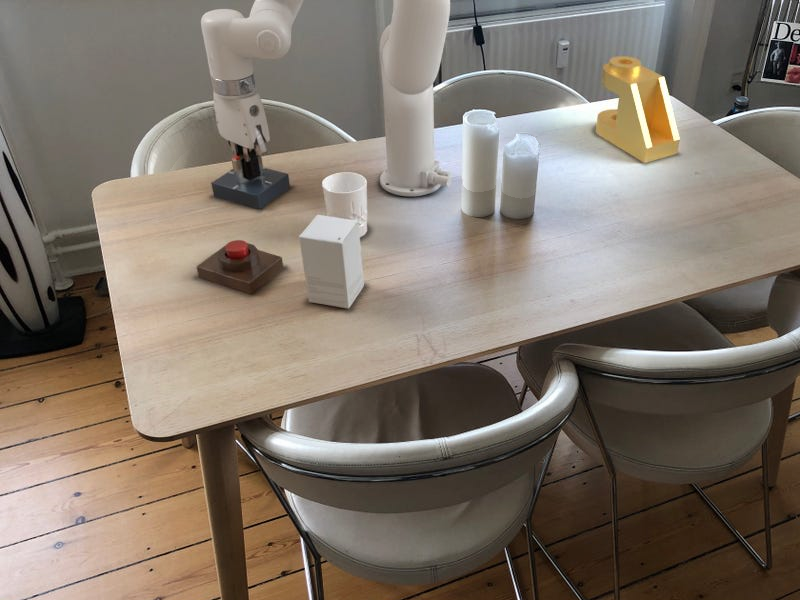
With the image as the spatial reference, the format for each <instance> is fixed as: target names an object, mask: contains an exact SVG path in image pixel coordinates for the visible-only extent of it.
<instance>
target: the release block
mask: <svg viewBox="0 0 800 600" xmlns="http://www.w3.org/2000/svg"><path fill="white" fill-rule="evenodd" d="M246 243H247V245H248V250H249V255H248V256H247V257H245V258H242V259H230V258H228V257H227V253H226V248H225V246H226V244H225V245H224V246H222V247H221V248H219V249H218V250H217V251H215V252H213V254H212V255H210V256H209V257H207V258H206V259H205V260H203V261H201V262H200V263H199V264H198V265H196V270H197V275H198V278H201V279H204V280H207V281H210V282H213V283H215V284H219V285H222V286H225V287H228V288H231V289H235V290H237V291H241V292H244V293H247V294H250V295H252V294H253V293H255V292H256V291H257V290H258V289H259V288H260V287H262V286H263V285H264V284H265V283H267V282H268V281H269V280H271V278H273V277H274V276H275V275H276V274H278V273H279V272H280V271H281V270H282V269H283V268H284V263H283V257H282V256H280V255H276V254H273V253H269V252H267V251H263V250H260V249H258V248H257V247H256V245H254V244H252V243H248V242H246Z"/></svg>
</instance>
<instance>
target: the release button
mask: <svg viewBox="0 0 800 600" xmlns="http://www.w3.org/2000/svg"><path fill="white" fill-rule="evenodd" d="M247 243H248V242H246V241H245V240H242V239H235V240H231V241H229V242H227V243H226V244H225V245H226V246H225V245H224V246H225V248H226V253H227V257H228V258H230V259H242V258H245V257H247V256H248V255H249V250H248V245H247Z"/></svg>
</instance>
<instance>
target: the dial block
mask: <svg viewBox="0 0 800 600" xmlns="http://www.w3.org/2000/svg"><path fill="white" fill-rule="evenodd" d="M263 169H264V174H262V175H260V176H258V177H255V178H253V179H251V180H249V181H247V182H244V183H242V184H238V183H236V182H235V176H234V171H233V168H231V170H229V171H228V172H226V173H224V174H223V175H221V176H219V177H218V178H216V179H215V180H213V181H211V183H210V184H211V189H212V193H213V197H214V198H218V199H221V200H225V201H228V202H233V203H236V204H239V205H242V206H246V207H251V208H254V209H256V210H261V209H262V208H264V207H265V206H266V205H268V204H269V203H270V202H272V201H273V200H275V199H277V197H279V196H280V195H282V194H283V193H284V192H286V191H287V190H289V189H290V188H291V183H290V177H289V173H286V172H282V171H280V170H275V169H272V168H267V166H263Z"/></svg>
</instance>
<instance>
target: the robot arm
mask: <svg viewBox="0 0 800 600" xmlns="http://www.w3.org/2000/svg"><path fill="white" fill-rule="evenodd" d="M304 1H305V0H254V2H253V4H252V7H251V10H250V13H249V16H248V17H244V14H242V13H241V12H240V11H238V10H235V9H230V8H219V9H212V10H209V11H207V12H205V13H204V14H203V15H202V16H201V19H200V26H201V33H202V37H203V43H204V48H205V52H206V58H207V64H208V69H209V70H208V71H209V75H210V79H211V80H210V81H211V85H212V89H213V107H214V114H215V121H216V126H217V130H218V133H219V135H220V136H221V138H222V139H223V140H225V141H226V142H227V143H228V145H229V146H230V149H231V153H232V155H233V157H234V156H239V155H241V154H243V153H244V158H245V160H244V161H243V165H244V170H245V176H246V179H247V180H251V179H253V178H255V177H257V176H259V175H260V174H261V173H260V167H259V161H258V157H260V155H261V156H263V155H265V154H267V153H268V149H267V146H266V143H270V141H271V137H270V131H269V125H268V120H267V115H266V112H265V108H264V106H263V102H262V99H261V96H260V94H259V91H257V86H256V80H255V75H254V67H253V61H252V59H256V60H263V61H277V60H279V59H281V58H284V57H285V56H286V55H287V54H288V53H289V50H290V49H291V45H292V30H293V29H292V27H293V25H294V22H295V20H296V18H297V16H298V14H299V11H300V9H301V7H302V5H303V2H304ZM392 4H393V6H392V16H391V22H390V24H388V25H387V26H386V27H385V29H384V31H382V34H381V37H380V40H379V62H380V68H381V69H380V71H381V79H382V80H381V81H382V83H381V84H382V95H383V96H382V97H383V99H382V100H383V114H384V115H383V118H384V129H385V130H384V133H385V134H384V135H385V150H386V152H385V153H386V169H385V170H384V171H382V173H381V174H380V177H379V183H380V186H381V188H382V189H384V190H385V191H386V192H387V193H390V194H393V195H396V196H401V197H420V196H421V197H422V196H425V195H429V194H431V193H434V192H435V191H437V190H439V189H440V187H447V188H449V187H450V186H451V183H452V177H451V176H452V172H451V171H446V170H442V169H441V168H440V161H439V160H435V115H434V113H435V111H434V110H435V101H434V99H435V97H434V83H435V80H436V79H437V77H438V75H439V71H440V66H441V63H442V57H443V52H444V47H445V42H446V38H447V31H448V27H449V21H450V16H451V15H450V14H451V0H392ZM250 150H251V151H250Z"/></svg>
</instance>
